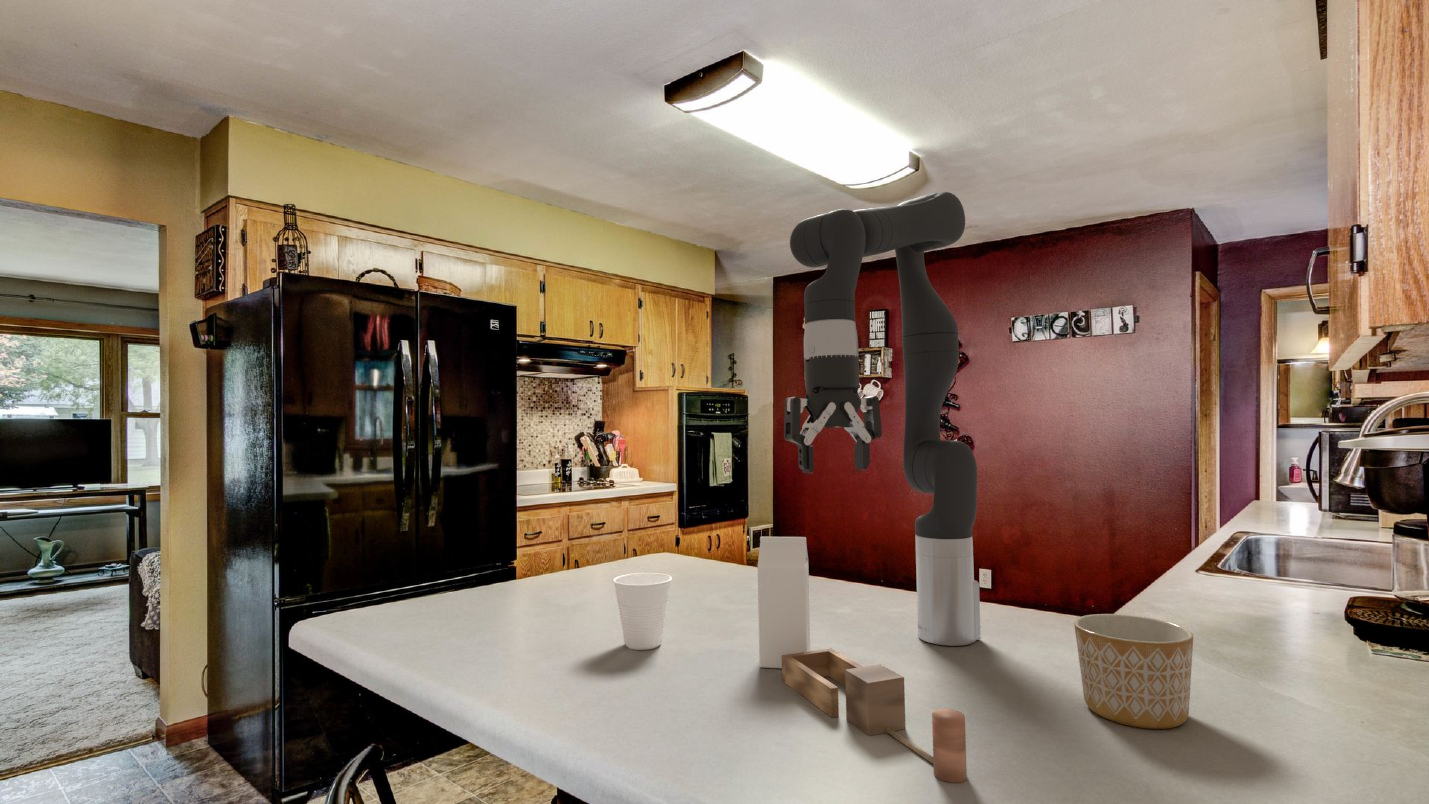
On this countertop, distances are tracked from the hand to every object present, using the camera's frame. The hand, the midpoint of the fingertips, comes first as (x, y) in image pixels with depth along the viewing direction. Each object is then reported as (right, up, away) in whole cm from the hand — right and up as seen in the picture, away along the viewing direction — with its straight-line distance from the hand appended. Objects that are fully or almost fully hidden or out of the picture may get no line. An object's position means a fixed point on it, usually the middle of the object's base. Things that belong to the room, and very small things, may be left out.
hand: (834, 471), depth 97 cm
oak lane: (-1, -30, -3) cm, 30 cm away
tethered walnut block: (+5, -29, -19) cm, 35 cm away
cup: (-29, -31, +20) cm, 47 cm away
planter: (+35, -29, -11) cm, 47 cm away
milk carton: (-6, -30, +10) cm, 32 cm away
